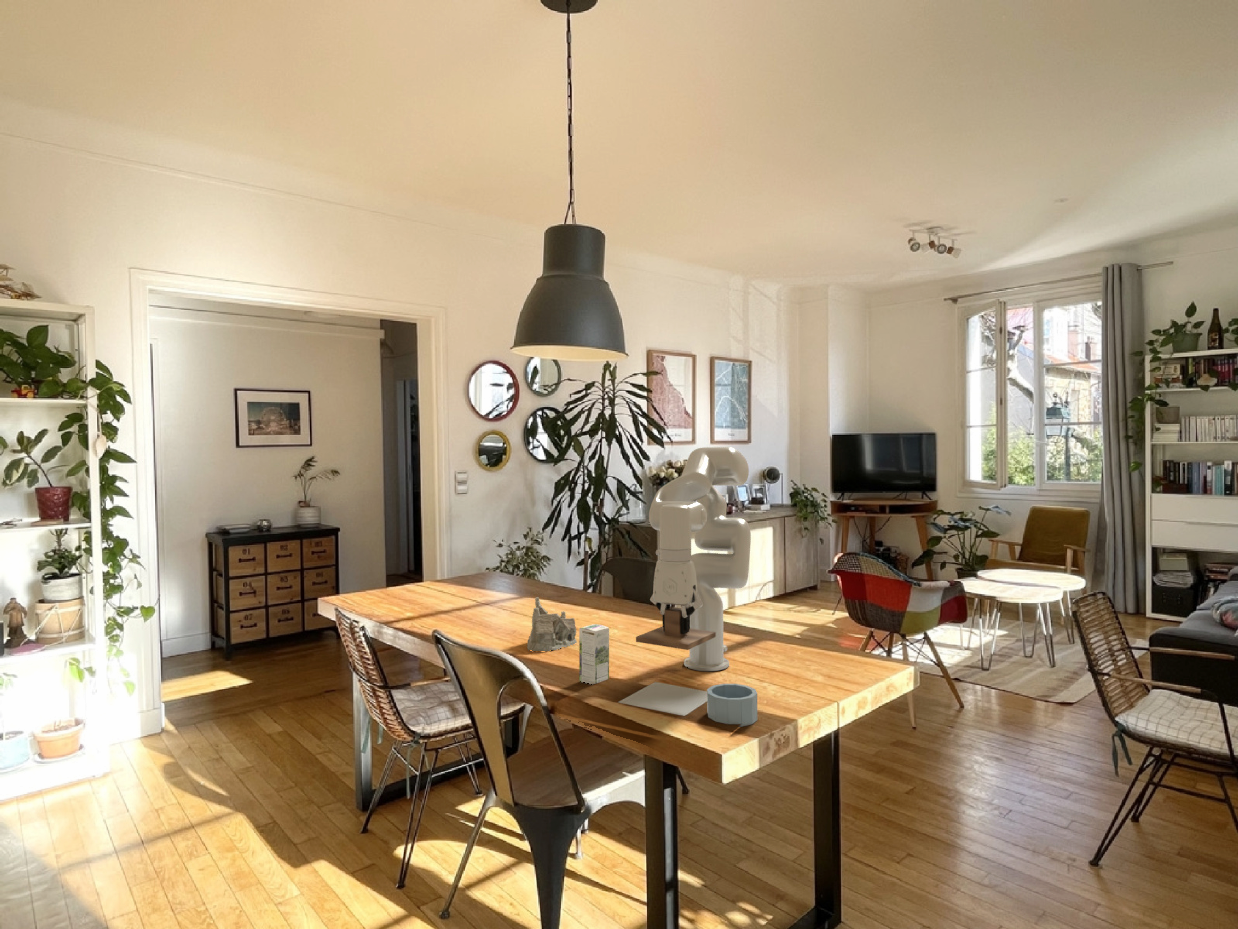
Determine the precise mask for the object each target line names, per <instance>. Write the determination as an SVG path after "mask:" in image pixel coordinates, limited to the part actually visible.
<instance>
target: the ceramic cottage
mask: <svg viewBox="0 0 1238 929" xmlns="http://www.w3.org/2000/svg"><path fill="white" fill-rule="evenodd" d="M534 599H535V600H534V605H535V607H534V608H533V611H532V617H531V619H532V620H531V630H530V633H529V636H528V639H527V644H526V645H527V651H529V650H532V651H550V650H556V651H558V650H557V649H559V650H561V649H560V648H562V647H565V648H568V647H567V646H569V647H571V646H570V645H572V646H574V645H573V644H575V643H577V644H578V640H577V639H576V635H577V626H576V620H575V618H574V617H570V618H567V616H566V611H561V614H559V613H548V611H547V609H545V608H544V607H543V605H542V604H541V602H540V598H539V596H537V597H535V598H534ZM575 645H576V644H575ZM562 649H563V648H562ZM532 651H531V652H532ZM550 652H551V651H550Z"/></svg>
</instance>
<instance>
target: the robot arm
mask: <svg viewBox="0 0 1238 929" xmlns="http://www.w3.org/2000/svg"><path fill="white" fill-rule="evenodd" d="M749 473H750V470H749V463H748V461H747V459H746V458H745V456H744V455H743V454H742V453H741V452H740V451H739V450H738V449H735V448H734V447H730V446H722V447H721V446H720V447H718V446H717V447H716V446H714V447H710V446H709V447H708V446H706V447H699V448H698V447H697V448H696V449H693V451H692V452H691V453H689V455H688V458H687V461H686V463H685V466H684V468H683V470H682V473H681V475H680V476H678V477H676V478H675V479H673V480H671V481H669V482H668V483H666V484H664V485H663V486H661V487H660V488H659V489H658V490H657V491H656V493H655V495H654V497H653V499H652V502H651V504H650V508H649V510H648V511H649V512H648V520H649V524H650V526H651V527H652V529H654V530H656V531H659V549H656V551H655V555H656V556H658V557H659V560H657V561H656V564H655V569H654V576H653V586H652V587H653V589H652V590H653V591H652V594H651V597H650V599H649V600H650V602H651V603H653V604H654V605H655V606H656V608H657V609H658V611H659V613H660V615H662V616H661V617H662V626H663V631H664V632H665V610H666V609H669V608H672V605H674V606H680V608H681V611H682V617H681V618H680V633H681V634H685V633H688V632H689V630H690V629H698V630H705V631H712V632H716V637H714V638H712V639H710V640H708V641H706V642H704V643H702V644H700V645H697V646H695V647H693V648H691V649H689V650H688V651H689V657H686V658H685V659H684V660H683V665H684V666H685V667H686V668H687V667H688V669H691V670H694V671H698V672H699V671H700V672H716V671H721V670H725V669H727V668H729V666H730V661H729V660H728V659H727V658H725V657H724V655H725V654H724V653H725V652H727V651H728V646H727V645H726V644H724V604H723V600H722V597H721V596H720V595H719V593H718V592H717V590H716V589H734V590H735V589H738V590H739V589H742V588H744V587H745V586H746V585H747V583H748V578H749V569H750V555H751V539H752V537H751V536H752V535H751V528H750V524H749V523H748V521H746V520H745V519H743V518H741V517H740V518H739V517H727V509H728V508H727V507H728V505H727V501H726V499H725V498H724V496H723V495H722V493H721V492H720V491H719V490H717V488H716V486H722V487H723V486H726V487H727V486H729V487H731V486H734V487H736V486H739V487H740V486H743V485H744V484H746V482H747V481H748V479H749V475H750V474H749ZM692 533H694V544H695V546H696V547H697V548H698V549H699V550H703V551H711V552H699V553H693V554H692ZM712 551H714V552H715V551H716V552H715V553H714V552H712ZM718 552H731V553H718Z"/></svg>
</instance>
